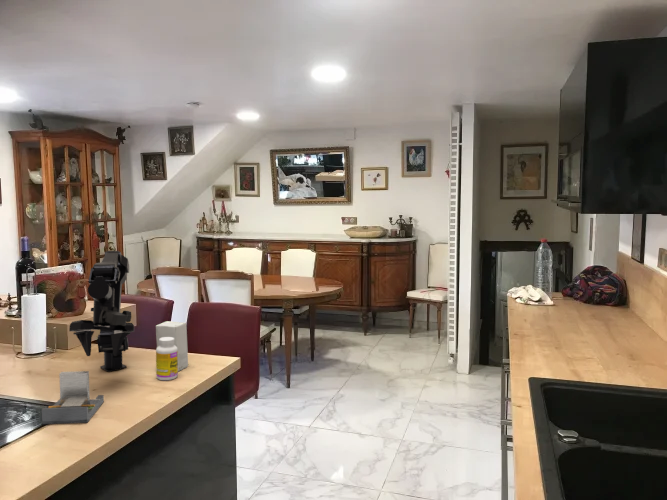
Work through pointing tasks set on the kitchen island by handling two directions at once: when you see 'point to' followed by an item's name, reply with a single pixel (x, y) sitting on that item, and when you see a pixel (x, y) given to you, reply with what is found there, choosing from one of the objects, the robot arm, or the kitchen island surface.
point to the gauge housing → (71, 413)
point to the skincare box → (175, 339)
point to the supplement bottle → (166, 359)
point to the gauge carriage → (74, 389)
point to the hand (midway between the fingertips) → (102, 356)
